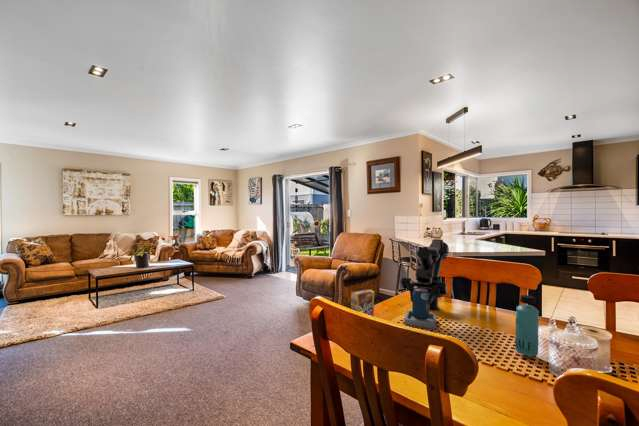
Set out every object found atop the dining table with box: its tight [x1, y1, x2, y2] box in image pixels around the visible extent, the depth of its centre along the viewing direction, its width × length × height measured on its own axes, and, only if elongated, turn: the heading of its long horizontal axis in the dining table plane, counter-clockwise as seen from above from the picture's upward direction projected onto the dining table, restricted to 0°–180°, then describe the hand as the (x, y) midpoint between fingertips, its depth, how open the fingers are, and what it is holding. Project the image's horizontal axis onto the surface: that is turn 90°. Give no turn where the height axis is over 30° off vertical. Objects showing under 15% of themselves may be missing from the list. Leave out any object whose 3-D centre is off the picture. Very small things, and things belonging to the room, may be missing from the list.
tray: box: [403, 309, 437, 331], centre depth 129 cm, size 12×12×2 cm
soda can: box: [411, 287, 431, 320], centre depth 129 cm, size 7×7×12 cm
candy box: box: [350, 289, 375, 317], centre depth 119 cm, size 9×4×15 cm, turn 123°
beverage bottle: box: [514, 294, 540, 357], centre depth 99 cm, size 6×7×20 cm
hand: (420, 302), depth 127 cm, fingers closed on soda can, 7 cm apart
